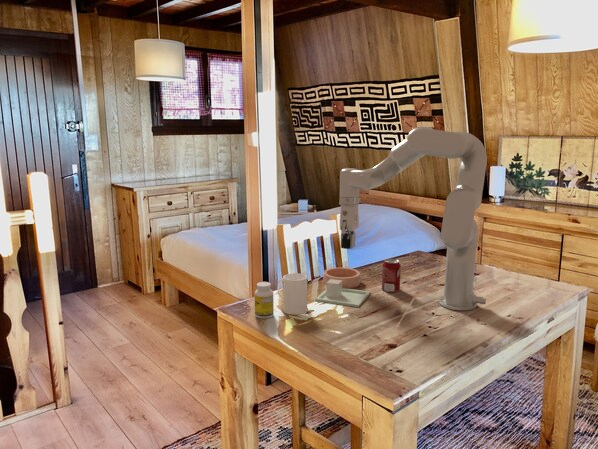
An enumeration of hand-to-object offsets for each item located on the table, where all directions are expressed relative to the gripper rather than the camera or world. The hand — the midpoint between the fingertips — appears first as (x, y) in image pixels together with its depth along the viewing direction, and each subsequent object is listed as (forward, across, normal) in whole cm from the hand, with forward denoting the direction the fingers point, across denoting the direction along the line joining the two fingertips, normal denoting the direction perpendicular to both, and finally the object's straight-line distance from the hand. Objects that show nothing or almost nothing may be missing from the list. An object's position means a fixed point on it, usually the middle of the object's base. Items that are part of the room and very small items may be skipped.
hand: (347, 246), depth 194 cm
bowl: (+15, 0, +2) cm, 16 cm away
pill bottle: (+16, -42, +15) cm, 47 cm away
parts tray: (+15, -16, -4) cm, 23 cm away
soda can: (+16, -1, -18) cm, 24 cm away
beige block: (+15, -16, 0) cm, 22 cm away
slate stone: (0, 0, 0) cm, 0 cm away
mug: (+16, -33, +9) cm, 38 cm away
